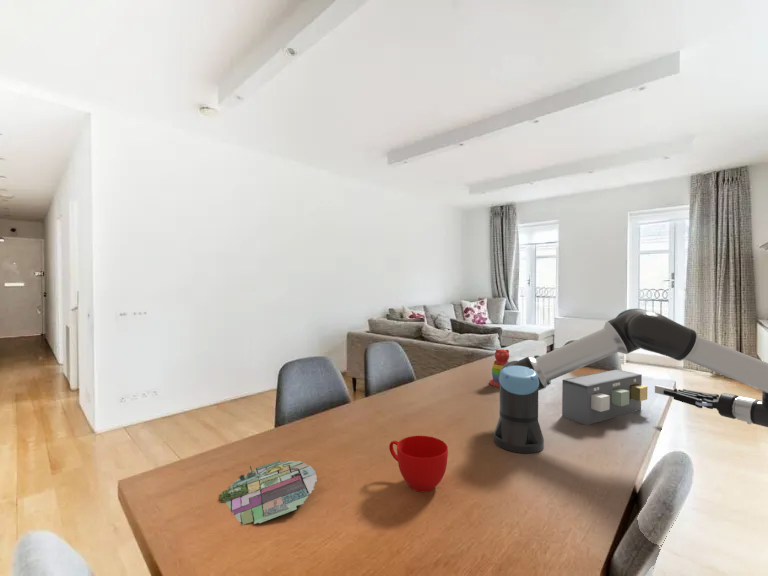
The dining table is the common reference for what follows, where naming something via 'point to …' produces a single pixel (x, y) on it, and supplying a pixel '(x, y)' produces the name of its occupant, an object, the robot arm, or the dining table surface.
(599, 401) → the white button
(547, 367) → the robot arm
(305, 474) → the city model
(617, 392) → the sage button
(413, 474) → the ceramic cup
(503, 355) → the stacking bear
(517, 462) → the dining table surface
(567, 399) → the button console
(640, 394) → the brass button
